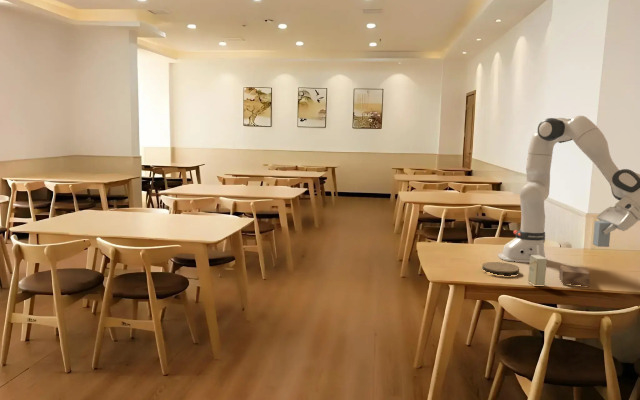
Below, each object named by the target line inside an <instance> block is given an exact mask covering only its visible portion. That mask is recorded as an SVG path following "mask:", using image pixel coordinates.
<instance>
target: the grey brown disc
mask: <svg viewBox="0 0 640 400" xmlns="http://www.w3.org/2000/svg"><path fill="white" fill-rule="evenodd" d="M481 268H482V269H483V270H485V271H486V272H490V273H493V274H497V275H504V276H511V275H517V274H519V275H520V267H519V266H517V265H516V264H512V263H507V262H500V261H489V262H484V263H483V264H482V267H481ZM482 269H481V270H482Z"/></svg>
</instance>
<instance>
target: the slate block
mask: <svg viewBox="0 0 640 400" xmlns="http://www.w3.org/2000/svg"><path fill="white" fill-rule="evenodd" d="M610 225H611V223H608V222H606V221H599V220H595V221H594V227H593V237H592V238H593V239H592V245H594V246H596V247H602V248H609V247H610V242H611V241H610V239H611V237H610V236H611V232H609V233H608V234H604V233H603V232H602V230H604V229H606V228H608V227H609V226H610Z"/></svg>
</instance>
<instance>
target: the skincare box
mask: <svg viewBox="0 0 640 400" xmlns="http://www.w3.org/2000/svg"><path fill="white" fill-rule="evenodd" d="M547 263H548V258H546V257H545V258H544V257H542V256H540V255H530V263H529V265H528V277H527V282H528V281H529V282H531V283H532V284H534V285H544V286H545V283H546V274H547V273H546V272H547Z"/></svg>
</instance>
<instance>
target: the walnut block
mask: <svg viewBox="0 0 640 400" xmlns="http://www.w3.org/2000/svg"><path fill="white" fill-rule="evenodd" d="M590 275H591V274H590V272H589V270H588V269H587V267H583V266H571V265H559V277H558V279H559V278H560V279H559V281H560V280H561V281H560V283H561V282H562V283H563V284H571V285H581V286H589V287H590V277H591V276H590ZM562 283H561V284H562Z"/></svg>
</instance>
